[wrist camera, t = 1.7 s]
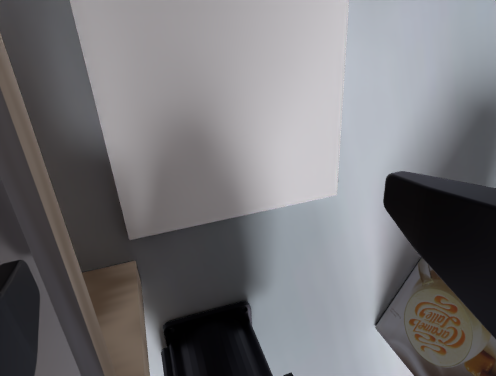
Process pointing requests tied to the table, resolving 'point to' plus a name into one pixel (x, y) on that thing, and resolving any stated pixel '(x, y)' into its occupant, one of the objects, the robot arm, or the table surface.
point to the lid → (44, 245)
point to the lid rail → (120, 316)
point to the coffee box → (436, 329)
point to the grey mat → (215, 104)
